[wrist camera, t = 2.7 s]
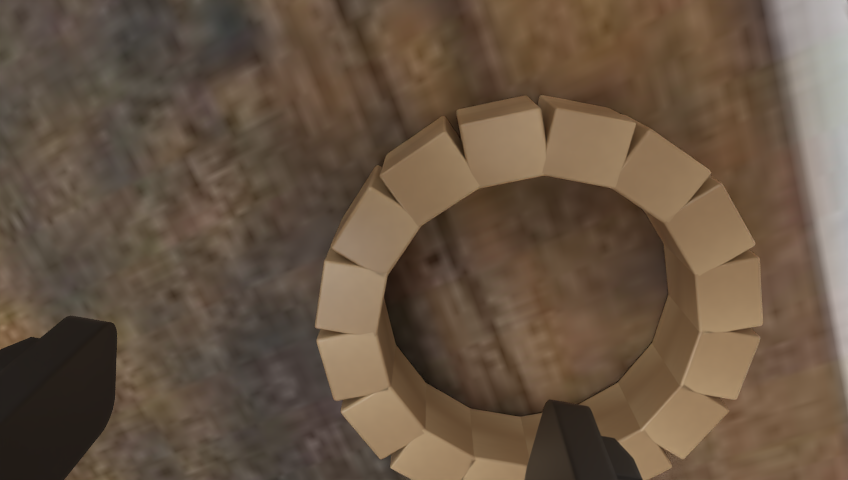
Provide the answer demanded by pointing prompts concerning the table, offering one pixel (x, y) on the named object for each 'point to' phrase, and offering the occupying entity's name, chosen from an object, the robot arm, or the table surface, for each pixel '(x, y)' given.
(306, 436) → the table surface
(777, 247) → the table surface
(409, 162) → the ring
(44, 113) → the table surface
